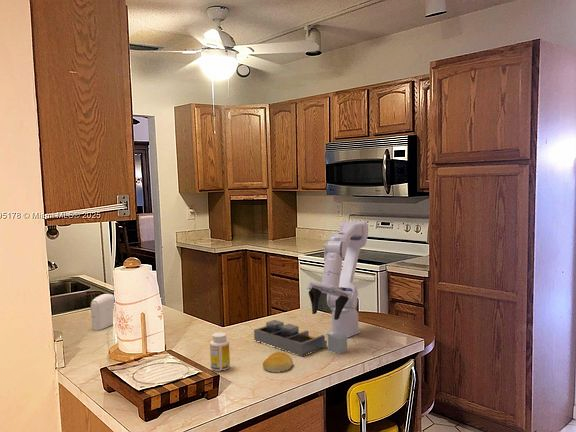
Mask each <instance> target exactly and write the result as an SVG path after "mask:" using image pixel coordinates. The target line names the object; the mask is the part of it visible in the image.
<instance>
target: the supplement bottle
mask: <svg viewBox="0 0 576 432" xmlns="http://www.w3.org/2000/svg"><path fill="white" fill-rule="evenodd" d="M209 349H210V352H209V355H210V368H211V370H213V371H214V370H215V371H216V372H222V371H221V370H224V371H227V370H228V369H229V368H230V366H231V363H230V361H231V357H230V342H229V339H227V334H226V332H214V333H213V334H212V340H211V341H210V342H209ZM226 369H227V370H226ZM215 371H214V372H215Z"/></svg>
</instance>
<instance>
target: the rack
mask: <svg viewBox="0 0 576 432" xmlns="http://www.w3.org/2000/svg"><path fill="white" fill-rule="evenodd" d="M299 329H300V327H299V326H298V325H294V324H292V323H286V324H285V323H284V321H281V320H276V319H273V320H270V321H266V322H265V326H262V327H258V328H255V329H254V330H253V336H254V340H256V341H260V342H263V343H266V344H269V345H272V346H275V347H278V348H281V349H284V350H286V351H290V352H292V353H295V354H298V355H301V356H303V355H305V356H307V355H306V354H308V353H310V352H313V351H315V352H317V351H316V350H318V351H320V350H322V349H321V348H323V347H325V348H327V347H328V345H327V343H328V342H327V341H328V340H325V338H326V336H325V335H324V334H321V335H319V336H313V335H309V334H310V333H309V330H304V331H301V332H299ZM254 340H253V341H254ZM326 346H327V347H326ZM319 349H320V350H319ZM323 349H324V348H323ZM292 353H291V354H292ZM313 353H314V352H313ZM295 354H294V355H295ZM310 354H311V353H310ZM298 355H297V356H298ZM308 355H309V354H308ZM301 356H300V357H301ZM303 357H304V356H303Z"/></svg>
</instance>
